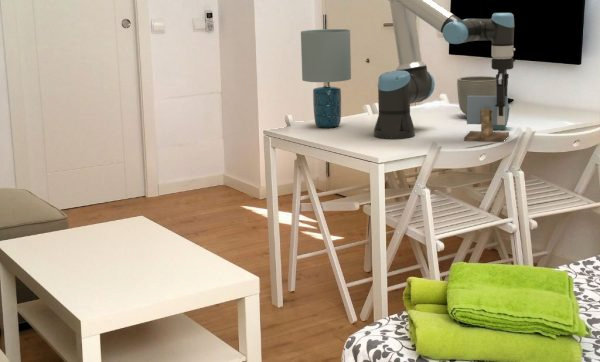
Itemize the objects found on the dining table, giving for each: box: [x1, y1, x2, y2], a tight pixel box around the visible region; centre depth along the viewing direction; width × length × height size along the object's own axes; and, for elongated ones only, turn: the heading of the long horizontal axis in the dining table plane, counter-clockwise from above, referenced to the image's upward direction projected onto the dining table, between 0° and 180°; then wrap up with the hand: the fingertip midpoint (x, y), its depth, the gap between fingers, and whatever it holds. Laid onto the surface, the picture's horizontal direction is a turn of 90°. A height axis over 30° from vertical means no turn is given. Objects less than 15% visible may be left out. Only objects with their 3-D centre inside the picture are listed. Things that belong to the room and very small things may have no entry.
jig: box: [464, 108, 510, 143], centre depth 320 cm, size 14×13×11 cm
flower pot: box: [493, 104, 511, 131], centre depth 338 cm, size 9×9×9 cm
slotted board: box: [466, 95, 509, 126], centre depth 319 cm, size 14×2×10 cm, turn 70°
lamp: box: [300, 28, 352, 129], centre depth 352 cm, size 19×19×38 cm
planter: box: [456, 75, 497, 116], centre depth 364 cm, size 17×17×16 cm
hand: (501, 123), depth 319 cm, fingers closed on slotted board, 2 cm apart
